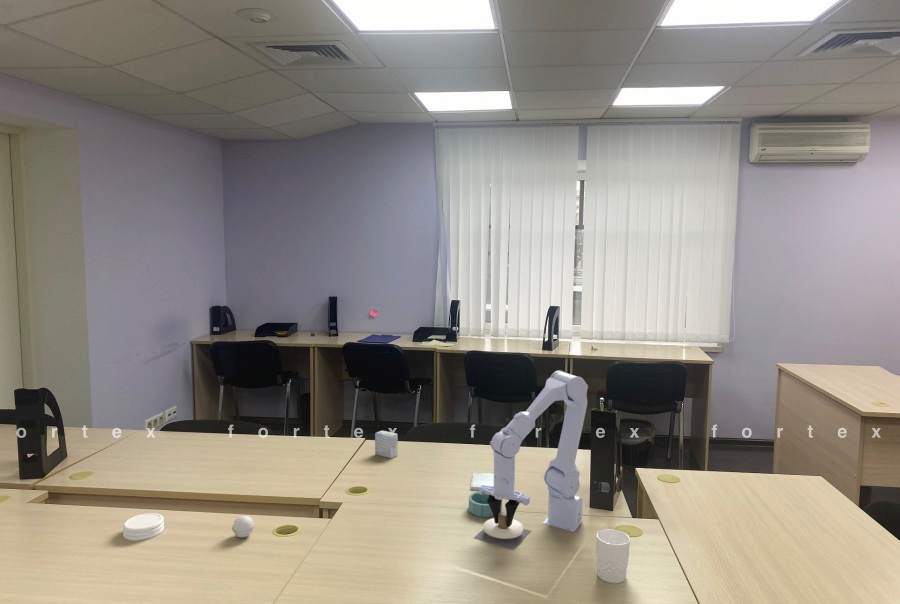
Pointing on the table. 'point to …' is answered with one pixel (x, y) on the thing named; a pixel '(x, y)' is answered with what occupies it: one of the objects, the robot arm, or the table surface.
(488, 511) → the bowl
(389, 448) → the medicine box
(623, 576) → the white cup
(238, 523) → the white ball
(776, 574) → the table surface
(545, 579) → the table surface
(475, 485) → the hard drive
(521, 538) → the mat
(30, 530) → the table surface
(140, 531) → the coaster
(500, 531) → the lid
